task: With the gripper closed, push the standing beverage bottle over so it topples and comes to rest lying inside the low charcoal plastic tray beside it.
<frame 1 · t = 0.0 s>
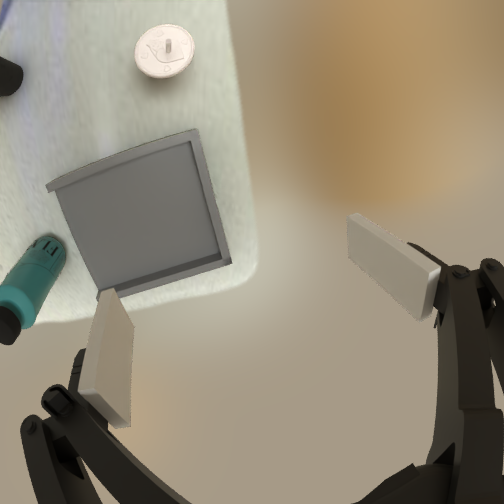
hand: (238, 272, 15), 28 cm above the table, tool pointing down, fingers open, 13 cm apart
smoothie: (165, 65, 32), on the table
charcoal tray: (140, 217, 40), on the table
beverage bottle: (52, 250, 38), on the table
drinking cup: (11, 80, 25), on the table
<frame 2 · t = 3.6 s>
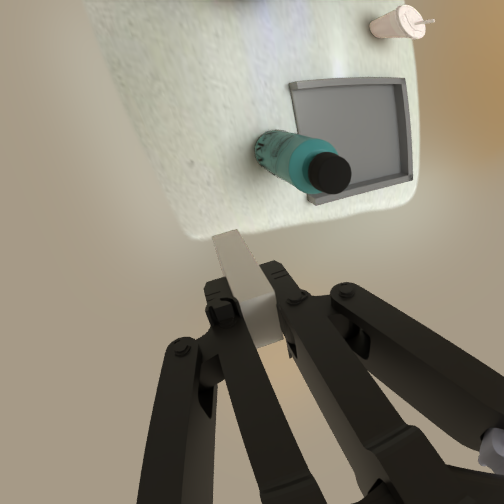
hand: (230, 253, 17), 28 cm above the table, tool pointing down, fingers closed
smoothie: (376, 29, 37), on the table
charcoal tray: (355, 133, 46), on the table
beverage bottle: (270, 149, 44), on the table
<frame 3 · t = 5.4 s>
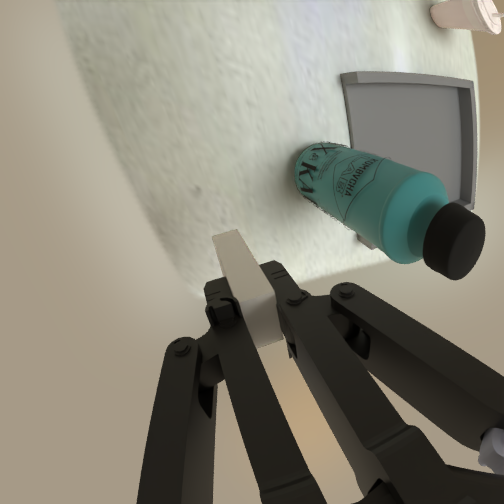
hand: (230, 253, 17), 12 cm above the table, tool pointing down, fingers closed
smoothie: (437, 16, 24), on the table
charcoal tray: (418, 149, 32), on the table
beverage bottle: (313, 169, 30), on the table
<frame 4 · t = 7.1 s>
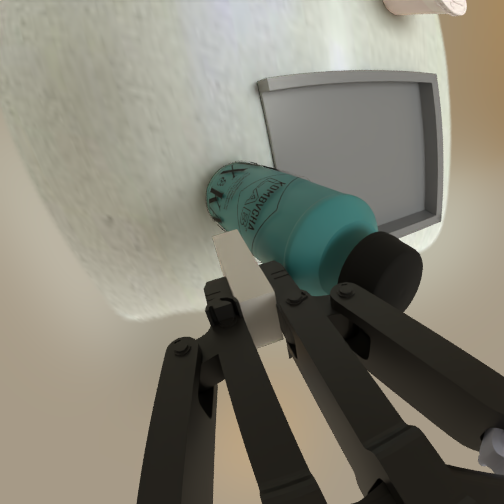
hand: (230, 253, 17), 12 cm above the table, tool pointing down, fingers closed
smoothie: (392, 3, 22), on the table
charcoal tray: (365, 157, 30), on the table
beverage bottle: (230, 191, 28), on the table
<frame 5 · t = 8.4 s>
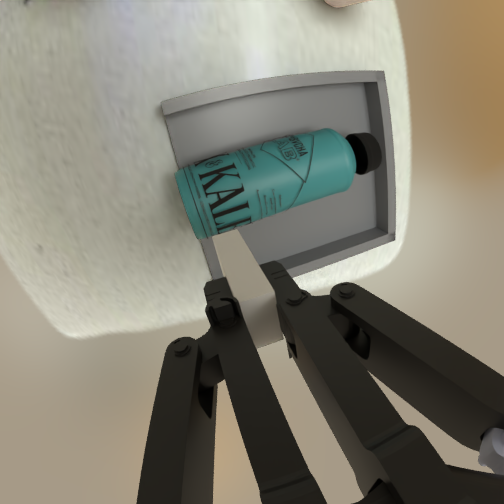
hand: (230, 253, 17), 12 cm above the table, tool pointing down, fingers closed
charcoal tray: (294, 173, 29), on the table
beverage bottle: (167, 213, 24), point 4 cm above the table, touching charcoal tray
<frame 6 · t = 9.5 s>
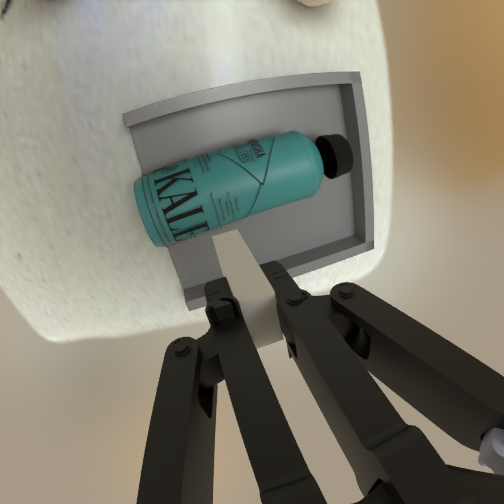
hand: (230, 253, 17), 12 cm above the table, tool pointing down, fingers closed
charcoal tray: (263, 181, 29), on the table
beverage bottle: (129, 221, 23), point 4 cm above the table, touching charcoal tray
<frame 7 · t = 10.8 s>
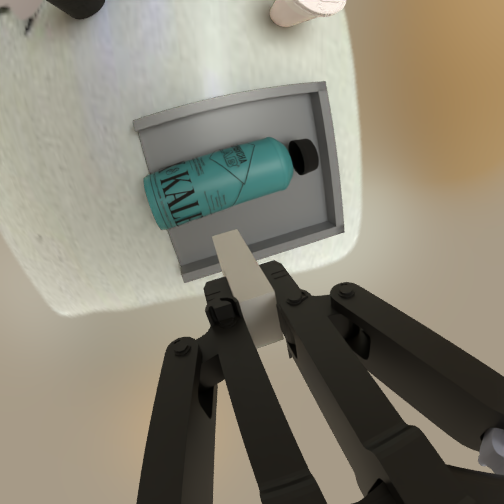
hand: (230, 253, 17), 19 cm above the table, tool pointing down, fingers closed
smoothie: (283, 15, 27), on the table
charcoal tray: (246, 175, 35), on the table
beverage bottle: (138, 209, 29), point 4 cm above the table, touching charcoal tray
drinking cup: (87, 3, 20), on the table
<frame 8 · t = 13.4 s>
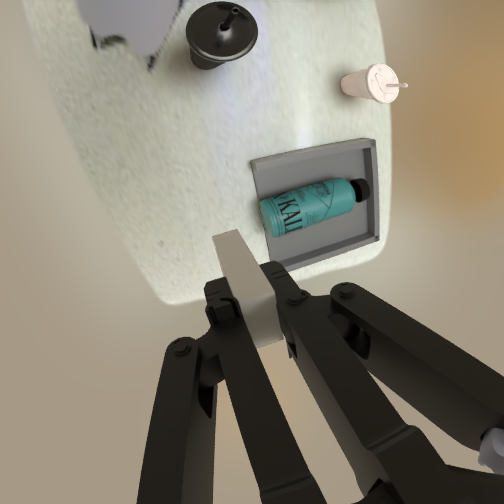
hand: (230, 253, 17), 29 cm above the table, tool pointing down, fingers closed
smoothie: (348, 85, 43), on the table
charcoal tray: (320, 201, 51), on the table
beverage bottle: (256, 223, 45), point 4 cm above the table, touching charcoal tray
drinking cup: (206, 55, 36), on the table
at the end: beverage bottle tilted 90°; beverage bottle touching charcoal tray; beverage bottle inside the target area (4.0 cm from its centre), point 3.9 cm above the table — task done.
